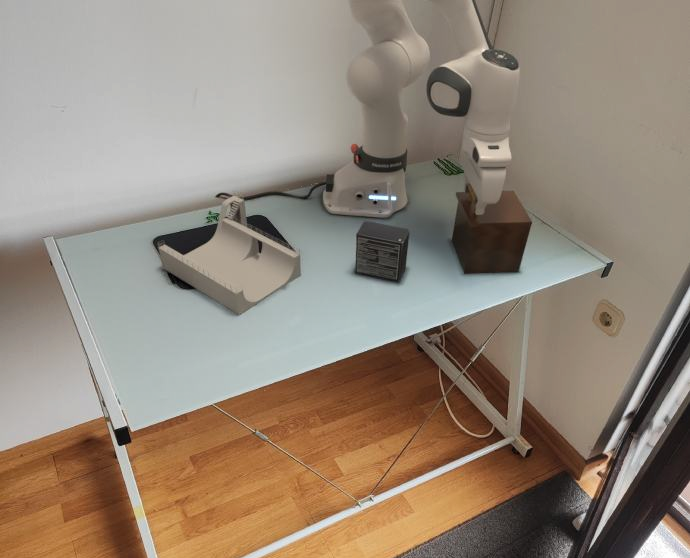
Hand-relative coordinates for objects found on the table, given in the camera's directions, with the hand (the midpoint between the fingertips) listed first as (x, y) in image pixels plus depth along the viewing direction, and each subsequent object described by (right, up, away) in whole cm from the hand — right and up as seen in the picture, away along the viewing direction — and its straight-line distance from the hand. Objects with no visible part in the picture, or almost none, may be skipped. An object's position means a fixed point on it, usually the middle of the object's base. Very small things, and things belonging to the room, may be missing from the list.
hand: (473, 201), depth 126 cm
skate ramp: (-52, -14, +5) cm, 54 cm away
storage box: (+5, -10, +10) cm, 15 cm away
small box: (-20, -15, +5) cm, 25 cm away
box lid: (+5, -1, +2) cm, 5 cm away
